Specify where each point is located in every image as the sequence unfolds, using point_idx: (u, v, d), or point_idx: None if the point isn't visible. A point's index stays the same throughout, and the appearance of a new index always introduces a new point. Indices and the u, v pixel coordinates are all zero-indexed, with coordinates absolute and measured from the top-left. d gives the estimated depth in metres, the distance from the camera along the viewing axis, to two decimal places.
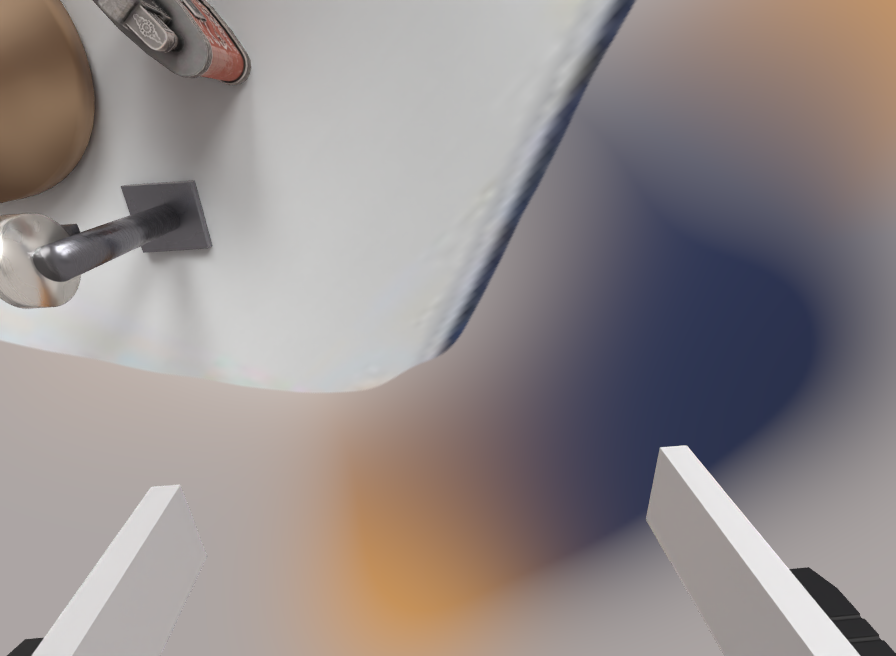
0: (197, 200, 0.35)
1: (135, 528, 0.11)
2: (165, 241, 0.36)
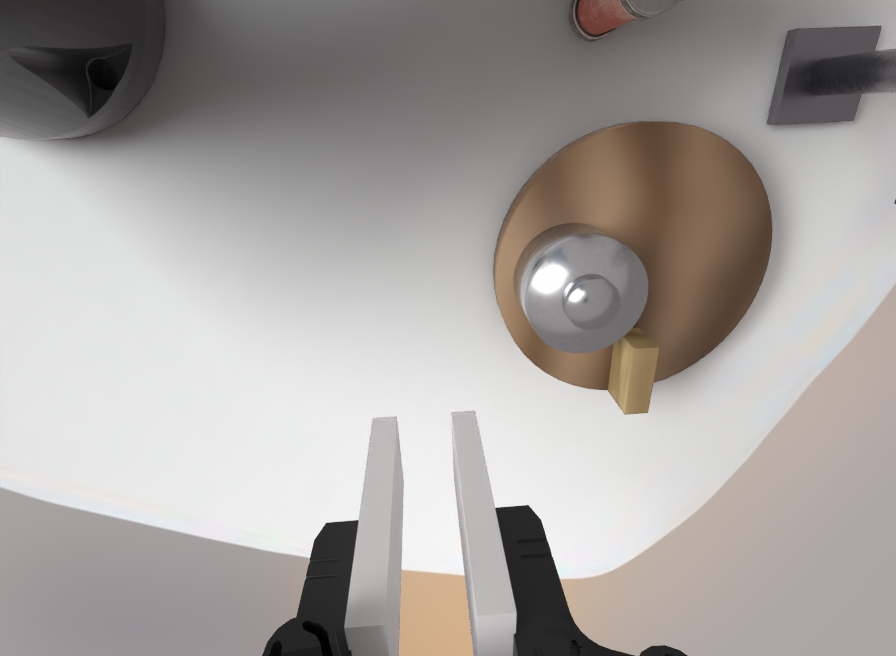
0: None
1: (380, 446, 0.13)
2: None
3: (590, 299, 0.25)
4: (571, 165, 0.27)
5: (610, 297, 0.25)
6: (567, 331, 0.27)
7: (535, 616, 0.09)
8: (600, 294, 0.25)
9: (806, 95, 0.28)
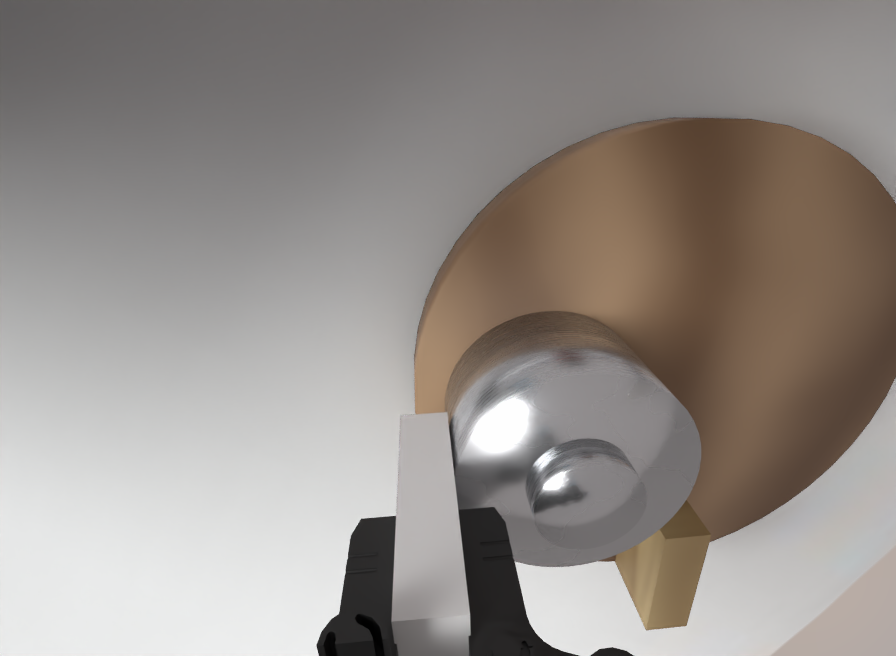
0: None
1: (410, 442, 0.13)
2: None
3: (583, 499, 0.12)
4: (541, 206, 0.14)
5: (625, 494, 0.12)
6: (539, 534, 0.14)
7: (491, 618, 0.09)
8: (604, 489, 0.12)
9: None
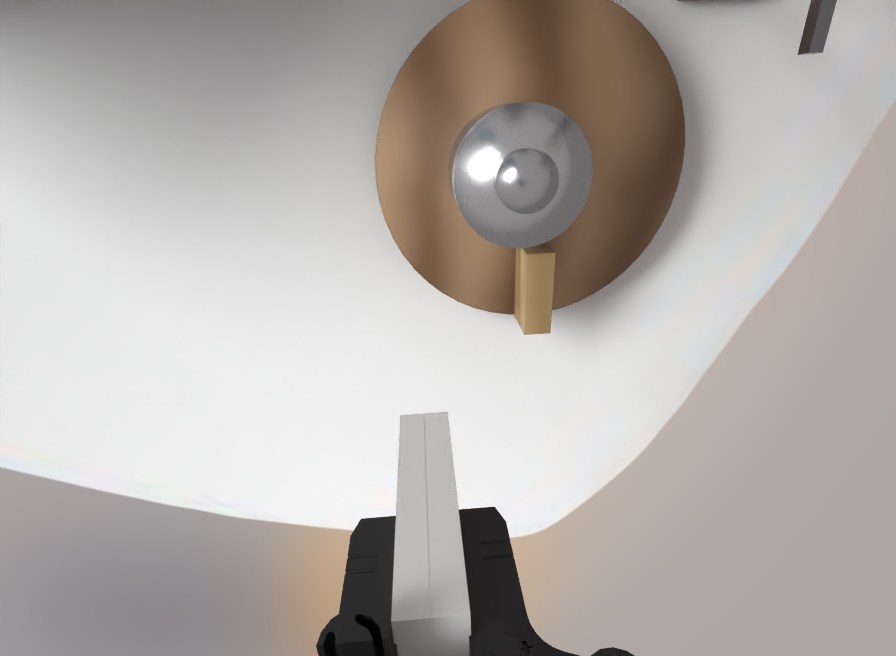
0: None
1: (410, 442, 0.13)
2: None
3: (524, 174, 0.22)
4: (446, 35, 0.24)
5: (547, 173, 0.22)
6: (501, 220, 0.24)
7: (492, 618, 0.09)
8: (535, 168, 0.22)
9: None
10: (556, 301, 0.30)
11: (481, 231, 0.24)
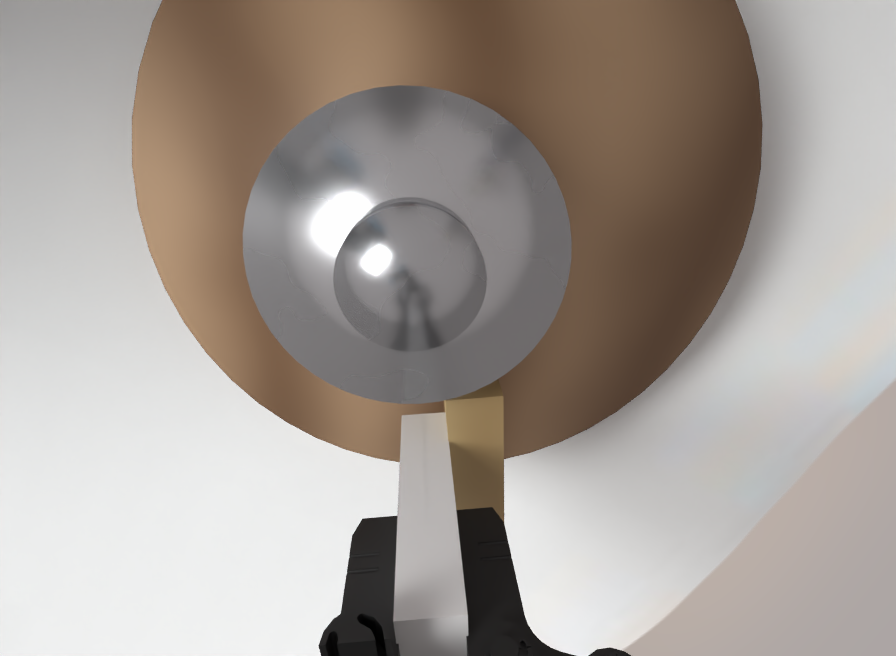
0: None
1: (411, 442, 0.13)
2: None
3: (397, 266, 0.09)
4: None
5: (455, 261, 0.09)
6: (372, 351, 0.11)
7: (489, 618, 0.09)
8: (424, 251, 0.09)
9: None
10: (521, 443, 0.17)
11: (330, 375, 0.11)
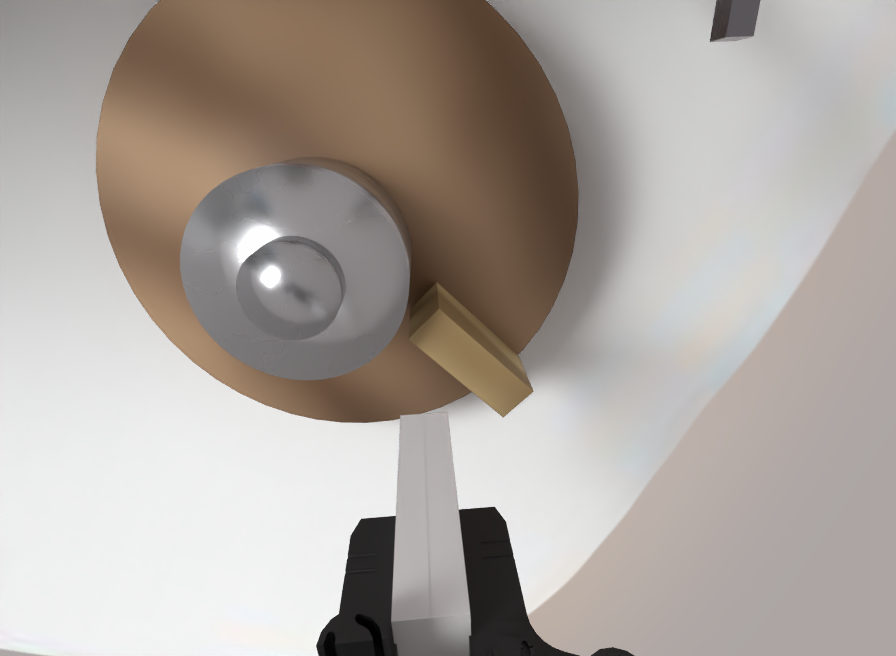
0: None
1: (410, 442, 0.13)
2: None
3: (273, 290, 0.13)
4: (117, 192, 0.17)
5: (296, 263, 0.13)
6: (325, 344, 0.15)
7: (492, 618, 0.09)
8: (277, 272, 0.13)
9: None
10: (527, 326, 0.20)
11: (318, 374, 0.16)
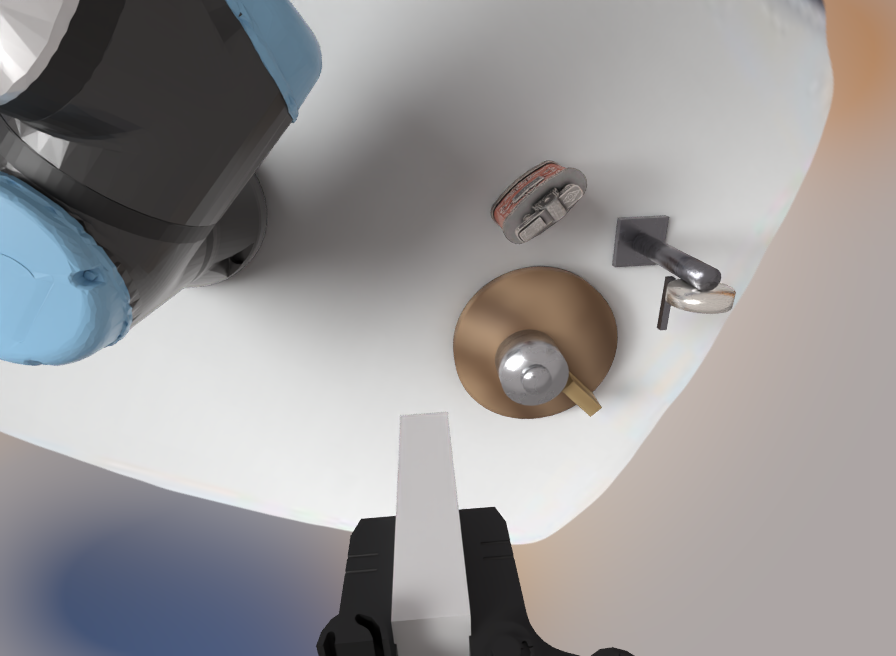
0: (632, 218, 0.47)
1: (410, 442, 0.13)
2: None
3: (533, 381, 0.46)
4: (461, 341, 0.49)
5: (541, 374, 0.46)
6: (539, 394, 0.48)
7: (492, 618, 0.09)
8: (535, 376, 0.46)
9: (631, 252, 0.48)
10: (596, 382, 0.53)
11: (535, 403, 0.48)
